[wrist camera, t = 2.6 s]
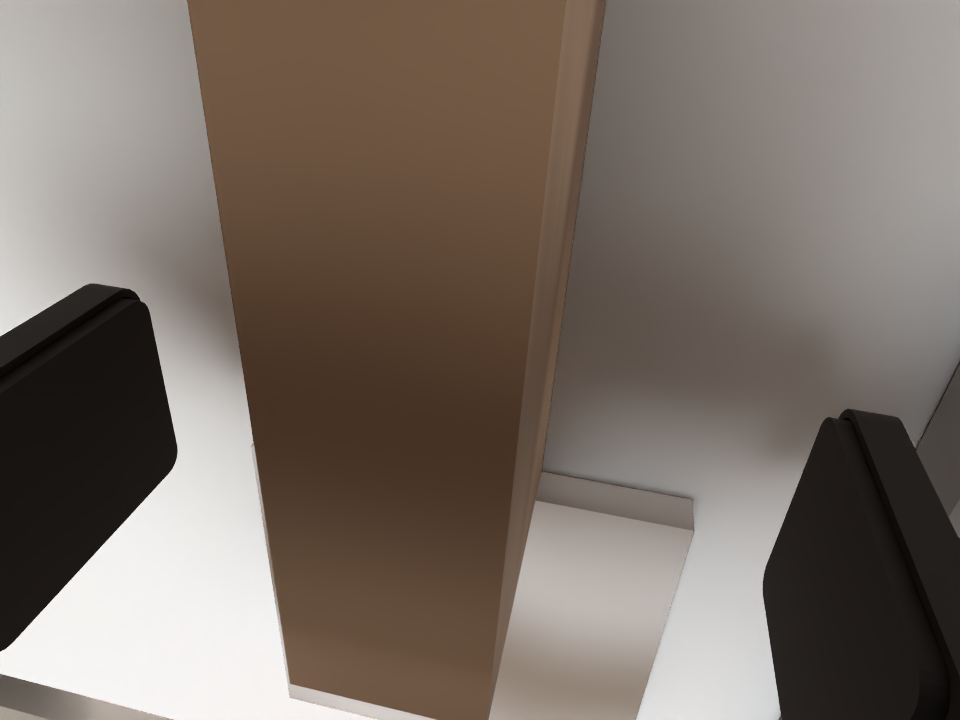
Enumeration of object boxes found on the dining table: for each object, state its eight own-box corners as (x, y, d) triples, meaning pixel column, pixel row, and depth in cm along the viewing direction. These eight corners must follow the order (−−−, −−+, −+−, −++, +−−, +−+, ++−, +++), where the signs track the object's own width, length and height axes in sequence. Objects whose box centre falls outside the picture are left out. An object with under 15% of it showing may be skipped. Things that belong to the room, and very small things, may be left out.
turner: (182, -256, 8) (-290, -425, 4) (910, -230, 7) (1253, -426, 3) (303, 669, 18) (197, 893, 14) (618, 744, 17) (605, 1014, 13)
